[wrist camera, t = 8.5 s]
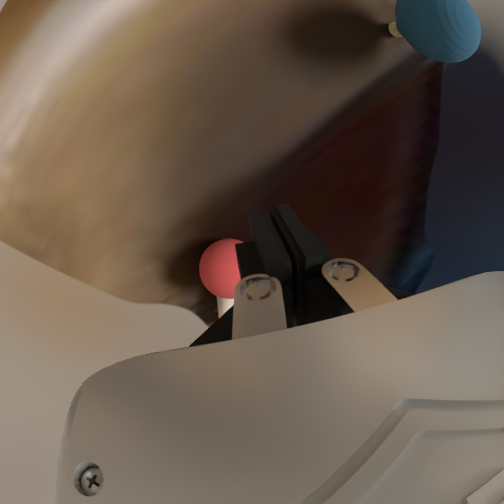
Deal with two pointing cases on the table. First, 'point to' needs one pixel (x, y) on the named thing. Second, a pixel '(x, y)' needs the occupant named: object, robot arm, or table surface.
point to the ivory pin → (224, 305)
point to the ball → (220, 268)
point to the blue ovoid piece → (438, 28)
